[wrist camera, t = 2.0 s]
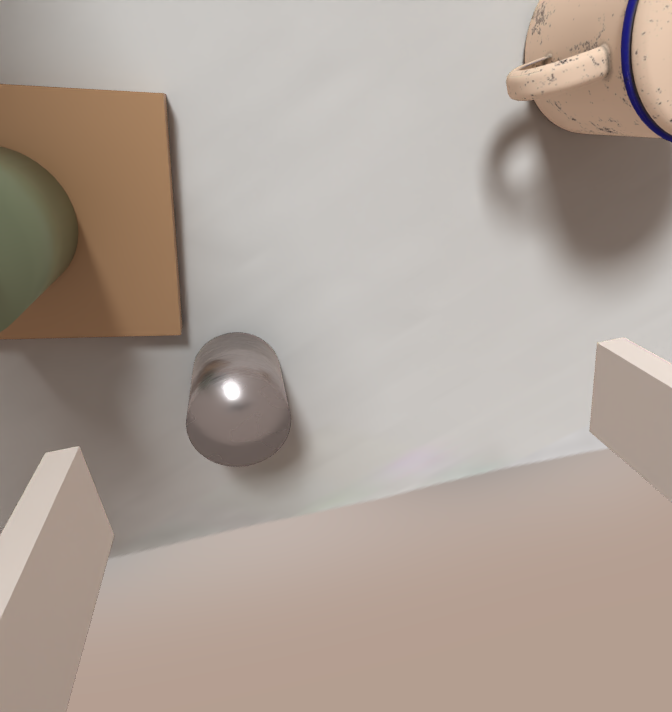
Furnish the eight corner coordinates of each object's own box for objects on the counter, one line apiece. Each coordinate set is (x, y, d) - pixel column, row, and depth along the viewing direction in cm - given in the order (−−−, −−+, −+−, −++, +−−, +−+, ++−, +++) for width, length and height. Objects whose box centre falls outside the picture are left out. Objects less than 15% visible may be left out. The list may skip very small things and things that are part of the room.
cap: (195, 412, 33) (189, 469, 28) (190, 333, 31) (182, 379, 26) (279, 407, 34) (290, 463, 29) (280, 331, 32) (291, 375, 27)
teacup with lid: (672, -84, 27) (954, -208, 17) (676, 107, 31) (905, 104, 21) (449, -6, 27) (594, -82, 16) (482, 177, 31) (616, 211, 20)
